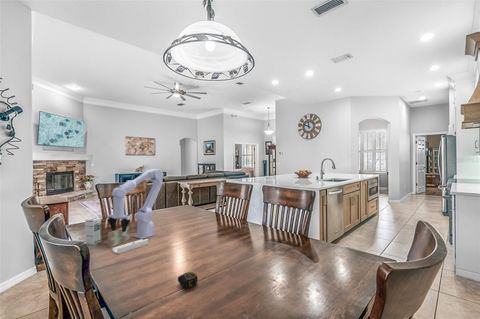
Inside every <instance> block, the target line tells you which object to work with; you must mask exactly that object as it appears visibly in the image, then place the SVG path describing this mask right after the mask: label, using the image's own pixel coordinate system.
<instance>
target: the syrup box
mask: <svg viewBox="0 0 480 319" xmlns="http://www.w3.org/2000/svg"><path fill="white" fill-rule="evenodd" d="M84 222H85V223H84V224H85V244H86V243H87V244H86V245H89V244H90V245H92V246H94V245H97V244H98V243H101V242H102V217H97V216H96V217H91V218H88V219H85V221H84Z"/></svg>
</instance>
